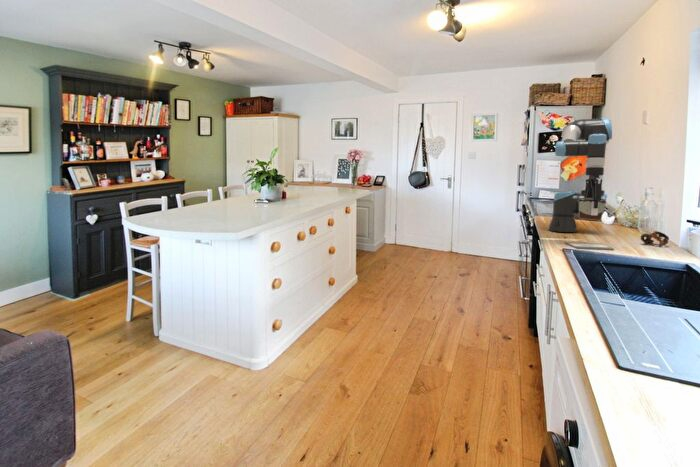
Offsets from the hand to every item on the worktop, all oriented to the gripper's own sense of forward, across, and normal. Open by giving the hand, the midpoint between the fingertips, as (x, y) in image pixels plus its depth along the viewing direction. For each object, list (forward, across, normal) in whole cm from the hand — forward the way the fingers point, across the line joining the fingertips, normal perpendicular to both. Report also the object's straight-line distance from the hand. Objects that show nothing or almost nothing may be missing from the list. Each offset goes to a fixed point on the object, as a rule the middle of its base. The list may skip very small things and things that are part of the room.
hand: (590, 214), depth 208 cm
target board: (+16, 0, 0) cm, 16 cm away
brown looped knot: (+17, -16, +34) cm, 41 cm away
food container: (+2, -1, 0) cm, 2 cm away
